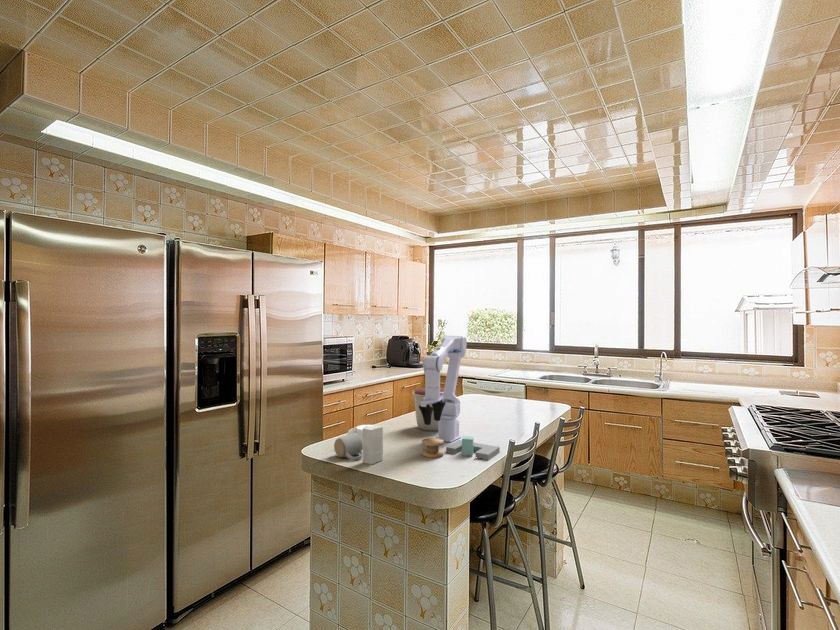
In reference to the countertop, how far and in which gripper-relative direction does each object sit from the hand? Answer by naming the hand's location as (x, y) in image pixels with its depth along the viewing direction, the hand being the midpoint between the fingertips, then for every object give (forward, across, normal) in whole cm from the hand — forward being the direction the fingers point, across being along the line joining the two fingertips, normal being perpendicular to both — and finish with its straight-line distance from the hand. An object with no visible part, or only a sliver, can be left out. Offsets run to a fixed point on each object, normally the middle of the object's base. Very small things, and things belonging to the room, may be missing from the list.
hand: (432, 422), depth 166 cm
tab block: (+10, -3, +14) cm, 17 cm away
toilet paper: (+11, +9, -27) cm, 30 cm away
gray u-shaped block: (+10, -6, +15) cm, 19 cm away
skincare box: (+11, +23, -11) cm, 28 cm away
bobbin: (+10, +5, +3) cm, 12 cm away
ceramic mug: (+11, +23, -21) cm, 33 cm away
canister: (+11, -28, -16) cm, 34 cm away
